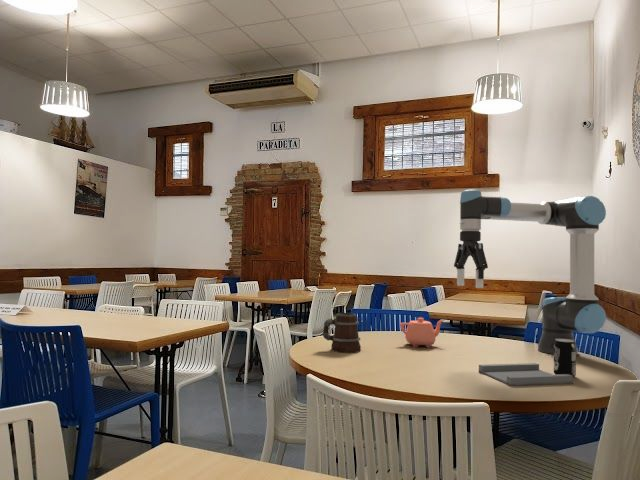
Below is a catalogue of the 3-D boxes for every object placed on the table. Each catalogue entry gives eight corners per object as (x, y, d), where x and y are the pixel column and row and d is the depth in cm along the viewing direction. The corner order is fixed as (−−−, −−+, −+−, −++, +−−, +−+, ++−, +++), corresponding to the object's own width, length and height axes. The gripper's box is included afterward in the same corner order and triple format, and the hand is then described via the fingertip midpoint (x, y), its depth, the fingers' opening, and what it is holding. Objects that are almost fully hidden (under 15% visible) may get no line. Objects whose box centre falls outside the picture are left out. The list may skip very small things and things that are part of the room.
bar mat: (535, 370, 167) (535, 363, 167) (572, 383, 150) (572, 375, 150) (478, 371, 162) (478, 364, 163) (510, 385, 145) (510, 377, 145)
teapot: (448, 348, 204) (449, 320, 205) (402, 348, 204) (403, 319, 204) (439, 343, 218) (439, 316, 218) (396, 342, 217) (396, 315, 217)
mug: (356, 347, 202) (357, 312, 203) (362, 353, 190) (363, 315, 191) (320, 347, 200) (320, 311, 201) (324, 353, 188) (324, 315, 189)
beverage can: (549, 373, 162) (549, 338, 163) (568, 373, 163) (568, 338, 163) (561, 378, 156) (561, 341, 156) (580, 378, 156) (580, 341, 157)
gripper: (445, 232, 192) (445, 284, 191) (479, 228, 168) (478, 288, 167) (462, 232, 194) (462, 284, 193) (498, 229, 169) (497, 289, 169)
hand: (469, 286), depth 180 cm, fingers open, 13 cm apart
